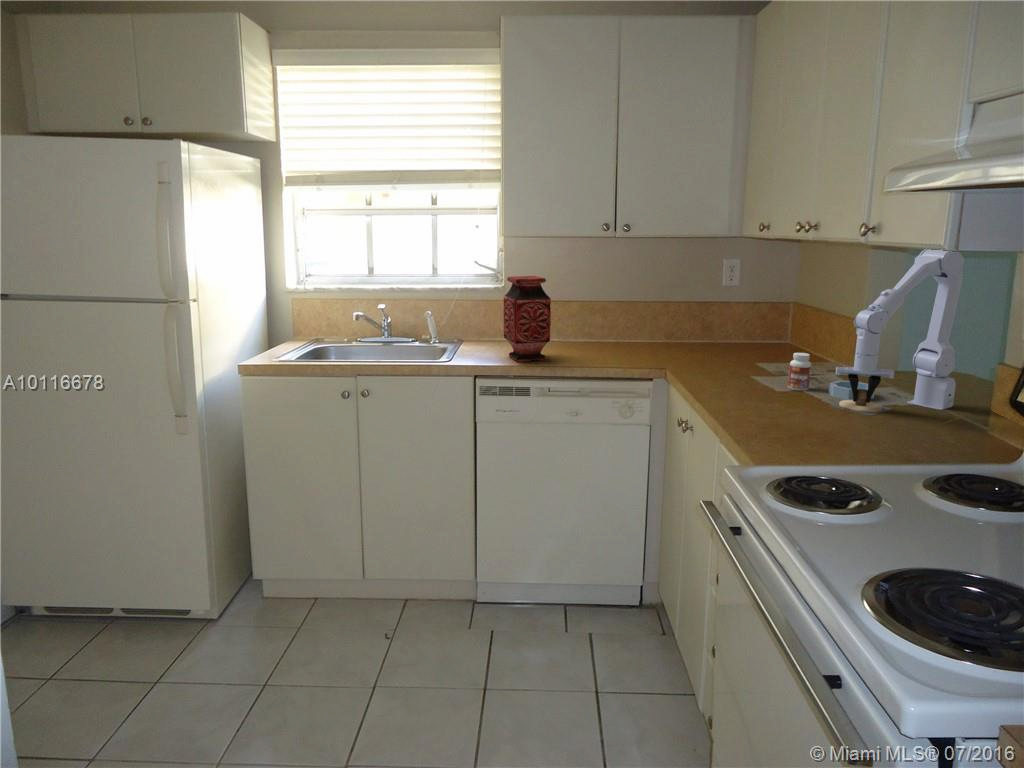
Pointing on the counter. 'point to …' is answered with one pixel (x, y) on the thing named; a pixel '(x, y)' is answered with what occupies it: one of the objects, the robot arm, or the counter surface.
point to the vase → (527, 318)
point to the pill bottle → (799, 372)
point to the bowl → (845, 389)
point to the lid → (861, 403)
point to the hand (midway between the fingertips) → (861, 401)
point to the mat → (861, 412)
